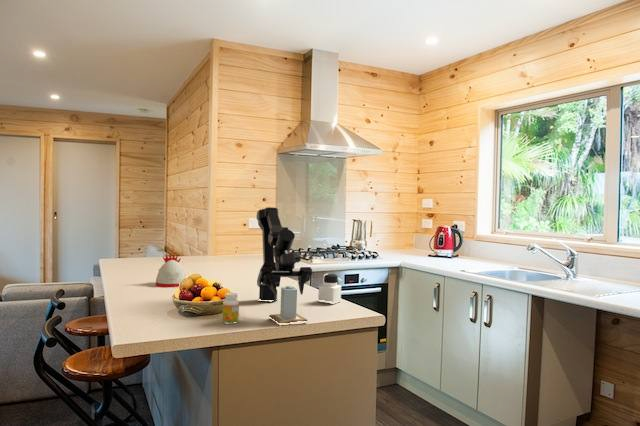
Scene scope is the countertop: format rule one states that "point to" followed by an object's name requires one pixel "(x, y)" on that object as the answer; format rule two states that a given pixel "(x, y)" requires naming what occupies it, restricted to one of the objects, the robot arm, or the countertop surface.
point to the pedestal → (281, 320)
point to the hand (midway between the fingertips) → (289, 294)
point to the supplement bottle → (230, 308)
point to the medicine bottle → (330, 288)
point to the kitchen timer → (170, 273)
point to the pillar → (288, 302)
